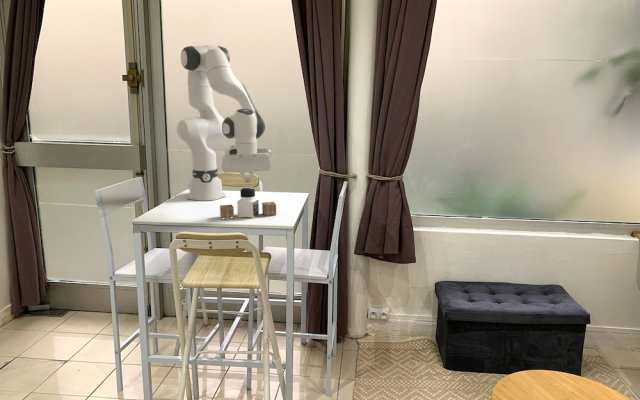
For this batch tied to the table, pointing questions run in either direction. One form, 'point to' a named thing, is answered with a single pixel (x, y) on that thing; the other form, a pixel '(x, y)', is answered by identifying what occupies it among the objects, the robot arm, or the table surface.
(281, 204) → the table surface
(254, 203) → the medicine bottle
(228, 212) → the walnut block one bar
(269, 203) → the walnut block two bars
